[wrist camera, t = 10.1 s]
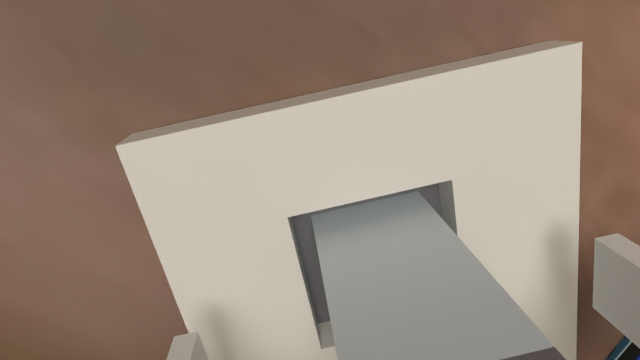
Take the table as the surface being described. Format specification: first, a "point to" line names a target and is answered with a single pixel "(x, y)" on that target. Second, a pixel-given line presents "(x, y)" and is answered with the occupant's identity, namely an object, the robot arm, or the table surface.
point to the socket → (367, 193)
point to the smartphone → (625, 351)
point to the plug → (415, 289)
